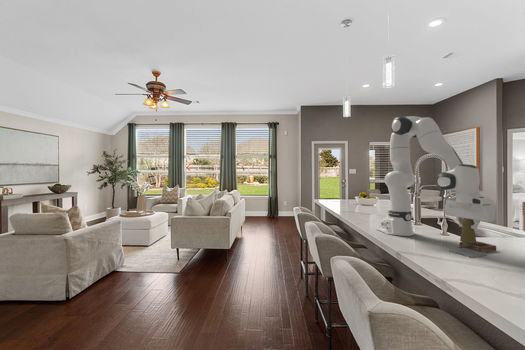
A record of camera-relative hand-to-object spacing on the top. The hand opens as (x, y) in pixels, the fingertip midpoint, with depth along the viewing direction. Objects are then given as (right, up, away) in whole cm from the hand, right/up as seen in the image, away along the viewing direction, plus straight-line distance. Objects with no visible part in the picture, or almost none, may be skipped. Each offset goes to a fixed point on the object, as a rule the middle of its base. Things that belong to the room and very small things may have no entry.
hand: (467, 228), depth 120 cm
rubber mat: (0, -12, 0) cm, 12 cm away
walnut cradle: (+10, -12, +6) cm, 16 cm away
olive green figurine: (0, -7, 0) cm, 6 cm away
